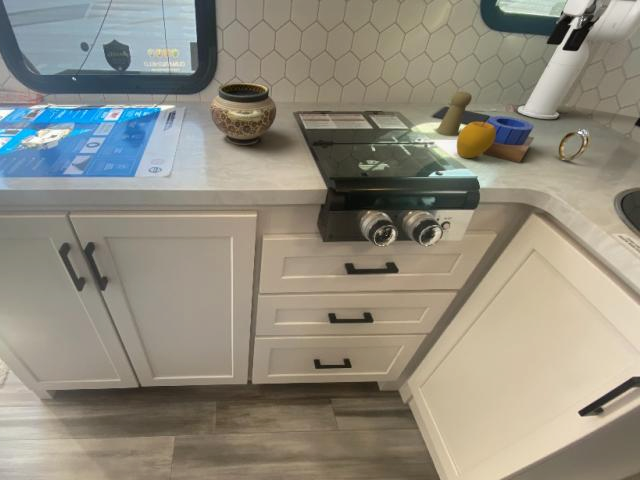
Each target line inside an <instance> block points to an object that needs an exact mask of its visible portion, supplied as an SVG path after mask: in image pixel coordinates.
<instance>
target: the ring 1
mask: <svg viewBox="0 0 640 480" xmlns="http://www.w3.org/2000/svg"><path fill="white" fill-rule="evenodd" d="M485 123H489V124H492V125H493V126H494V127H495V129H496V137H495V140H494V142H497V143H501V144H506V145H521V144H524V142H525V141H526V139H527V137H528V136H529V137H530V134H531V132H532V131H533V129H534V127H535V126H534V124H532V123H531V122H529V121H526V120H523V119H520V118H516V117H511V116H510V117H509V116H501V115H495V116H489V117H488V118H487V119H486V121H485Z"/></svg>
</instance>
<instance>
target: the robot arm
mask: <svg viewBox="0 0 640 480" xmlns="http://www.w3.org/2000/svg"><path fill="white" fill-rule="evenodd" d="M564 3H565V4H564V7H563V9H562V11H561V12H560V16H559V17H558V19H557V21H556V24H555V26H554V27H553V29H552V31H551V33H550V34H549V37H548V38H547V41H546V44H547V45H552V46H553V45H554V46H557V47H556V49H555V51H554V52H553V54H552V56H551V58H550V59H549V62H548V63H547V65H546V67H545V68H544V70H543V72H542V74H541V75H540V78H539V80H538V82H537V83H536V85H535V87H534V88H533V90H532V92H531V94H530V96H529V98H528V99H527V101H526V103H525V105H521V106H518V108H517V112H518V113H519V114H521V115H523V116H526V117H530V118H533V119H540V120H556V119H557V118H558V117H559V116H560V113H559V112H558V111H557V110H558V109H559V107H560V105H561V103H562V102H563V100H564V98H565V97H566V95H567V94H568V92H569V90H570V89H571V87H572V86H573V84H574V82H575V81H576V79H577V77H578V76H579V75H580V72H581V71H582V69H583V68H584V66H585V65H586V63H587V61H588V59H589V55H590V50H589V45H588V41H596V42H597V41H598V42H605V43H606V42H608V43H624V42H626V41H627V40H630V38H631V37H633V36H634V35H635V33H636V32H637V31H638V29H639V28H640V0H566V1H565V2H564Z"/></svg>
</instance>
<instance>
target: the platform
mask: <svg viewBox="0 0 640 480" xmlns="http://www.w3.org/2000/svg"><path fill="white" fill-rule="evenodd" d="M534 139H535V137H533V136H530V135H529V136H528V137H527V139H526V141H525V142H524V144H521V145H506V144H501V143H497V142H493V144H492V145H491V146H490V147H489V148H488V149H487V150H486V151H485V152H483V153H482V154H484V155H488V156H492V157H495V158H500V159H504V160H508V161H511V162H515V163H521V161H522V160H523V158H524V156H525V155H526V153H527V151H528V150H529V148H530V146H531V144H532V142H533V140H534Z"/></svg>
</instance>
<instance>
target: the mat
mask: <svg viewBox="0 0 640 480" xmlns="http://www.w3.org/2000/svg"><path fill="white" fill-rule="evenodd" d="M449 108H450V106H444V107H443V108H442V109H440V110H439V111H437V112H436V113H434V114H433V115H432V118H436V119H440V120H443V119H444V117H445V115H446V113H447V111H448V109H449ZM489 118H490V115H489V114H483V113H478V112H473V111H468V110H465V112H464V115H463V118H462V121H461V125H465V126H466V125H468V124H469V123H471V122H486V121H487V120H488V119H489Z"/></svg>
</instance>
